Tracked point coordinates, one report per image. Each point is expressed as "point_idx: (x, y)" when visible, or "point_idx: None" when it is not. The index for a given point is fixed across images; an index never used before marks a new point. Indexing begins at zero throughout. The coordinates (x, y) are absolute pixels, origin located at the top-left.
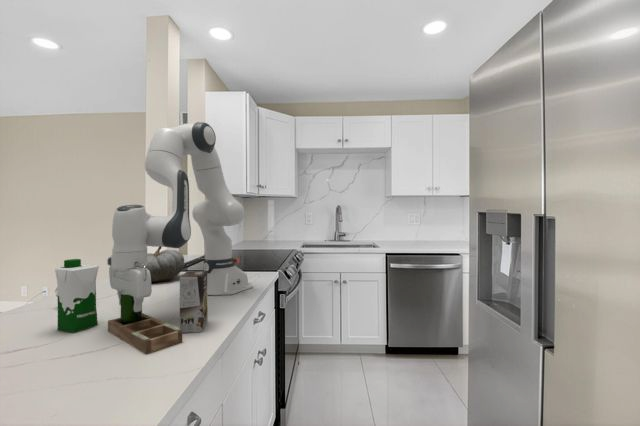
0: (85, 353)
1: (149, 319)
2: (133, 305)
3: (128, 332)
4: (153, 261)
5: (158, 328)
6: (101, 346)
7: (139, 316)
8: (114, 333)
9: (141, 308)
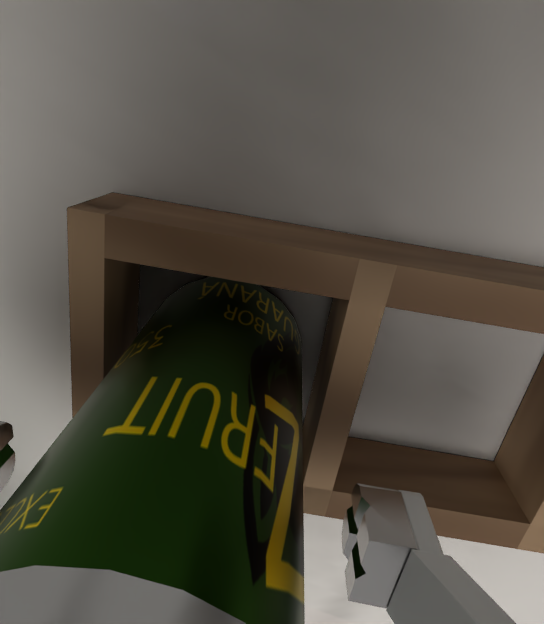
0: (352, 607)
1: (371, 308)
2: (369, 602)
3: (475, 538)
4: None
5: None
6: (337, 547)
7: (298, 382)
8: None
9: (274, 392)
